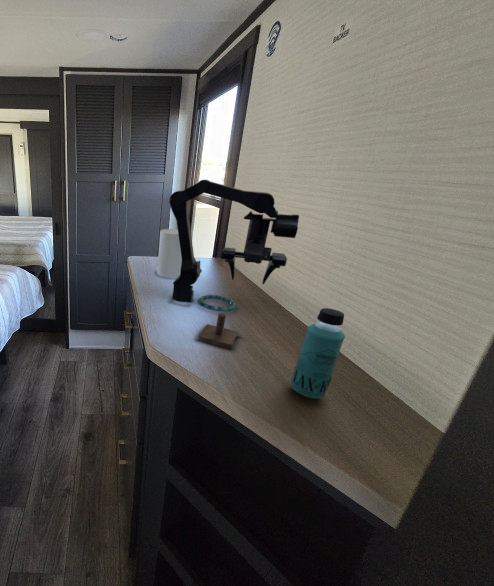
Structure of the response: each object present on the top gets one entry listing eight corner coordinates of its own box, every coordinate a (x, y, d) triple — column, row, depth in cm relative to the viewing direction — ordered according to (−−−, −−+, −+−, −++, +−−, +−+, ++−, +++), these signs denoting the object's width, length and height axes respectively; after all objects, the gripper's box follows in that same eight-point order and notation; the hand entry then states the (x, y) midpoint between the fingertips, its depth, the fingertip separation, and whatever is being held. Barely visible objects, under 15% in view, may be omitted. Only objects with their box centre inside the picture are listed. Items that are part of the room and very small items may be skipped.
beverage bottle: (282, 385, 70) (304, 304, 63) (309, 384, 71) (335, 303, 64) (301, 406, 64) (328, 318, 57) (331, 404, 65) (362, 317, 58)
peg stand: (198, 340, 89) (201, 316, 86) (206, 328, 96) (209, 305, 93) (231, 349, 84) (235, 324, 82) (237, 336, 92) (241, 312, 89)
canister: (151, 271, 150) (154, 229, 143) (174, 268, 155) (179, 228, 148) (167, 280, 138) (171, 235, 131) (192, 276, 144) (197, 233, 136)
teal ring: (193, 308, 110) (194, 302, 109) (203, 296, 120) (204, 291, 120) (231, 316, 104) (232, 311, 103) (238, 304, 114) (239, 299, 113)
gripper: (223, 236, 94) (215, 284, 100) (294, 242, 87) (281, 294, 93) (226, 230, 104) (218, 275, 109) (290, 236, 97) (278, 283, 102)
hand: (247, 281), depth 103 cm, fingers open, 9 cm apart
